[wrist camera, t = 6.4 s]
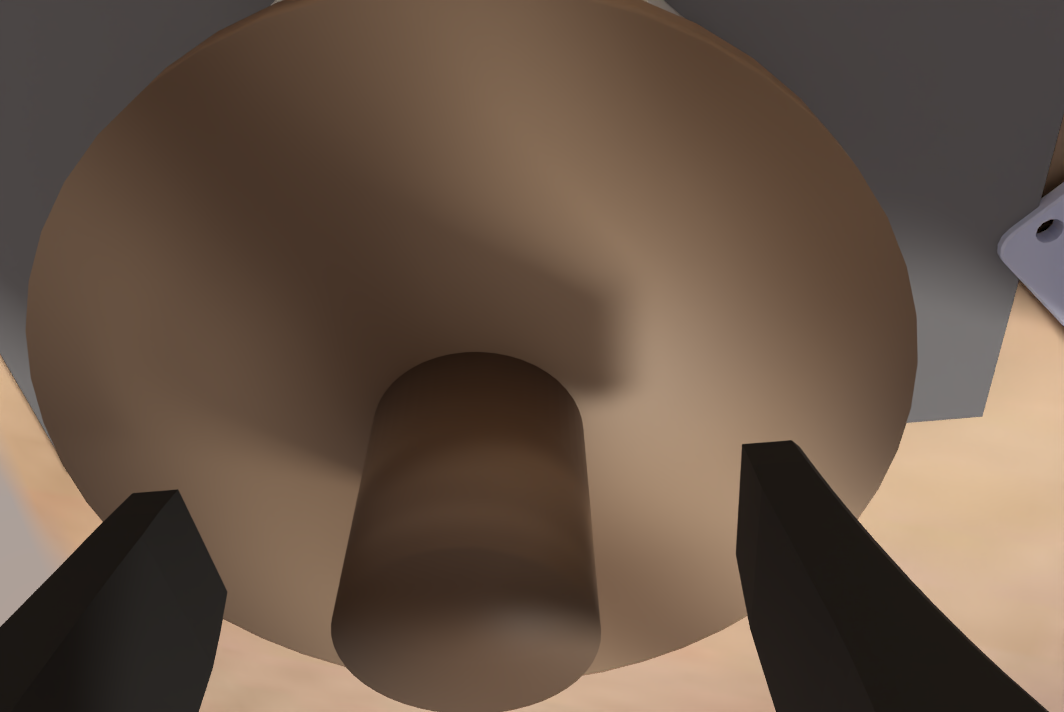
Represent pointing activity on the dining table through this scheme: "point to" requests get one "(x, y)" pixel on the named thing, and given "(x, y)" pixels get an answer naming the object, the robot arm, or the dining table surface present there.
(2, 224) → the placemat
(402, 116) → the lid
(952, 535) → the dining table surface
